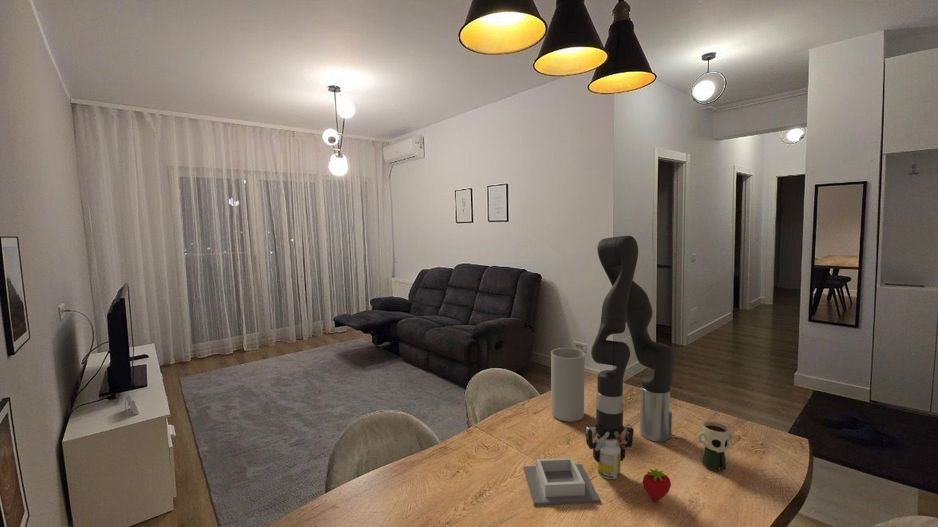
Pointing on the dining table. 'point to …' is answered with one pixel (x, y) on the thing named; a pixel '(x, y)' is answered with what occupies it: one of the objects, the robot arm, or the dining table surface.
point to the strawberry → (656, 484)
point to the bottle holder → (559, 482)
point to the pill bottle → (609, 459)
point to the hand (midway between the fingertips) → (608, 459)
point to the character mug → (715, 444)
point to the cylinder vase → (567, 384)
